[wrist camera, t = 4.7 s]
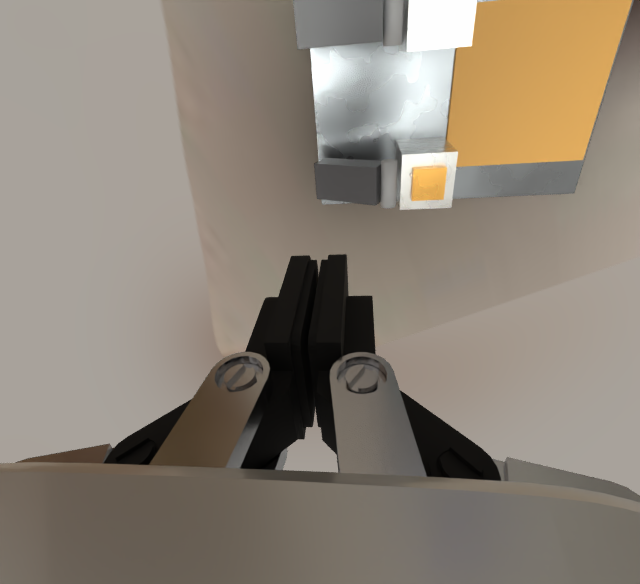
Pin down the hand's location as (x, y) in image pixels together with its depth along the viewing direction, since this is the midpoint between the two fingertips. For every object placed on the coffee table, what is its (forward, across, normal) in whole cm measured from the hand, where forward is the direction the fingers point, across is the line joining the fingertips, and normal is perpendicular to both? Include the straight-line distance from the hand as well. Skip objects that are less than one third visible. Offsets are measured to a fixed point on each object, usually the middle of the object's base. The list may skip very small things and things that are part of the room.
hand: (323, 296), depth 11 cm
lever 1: (+13, -1, -8) cm, 15 cm away
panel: (+17, -7, -4) cm, 19 cm away
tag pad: (+16, -11, -4) cm, 20 cm away
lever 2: (+13, -1, 0) cm, 14 cm away
